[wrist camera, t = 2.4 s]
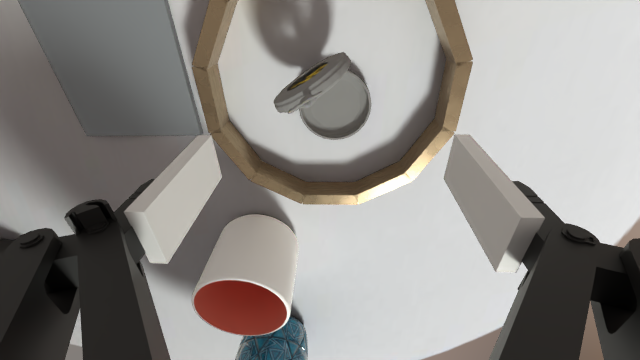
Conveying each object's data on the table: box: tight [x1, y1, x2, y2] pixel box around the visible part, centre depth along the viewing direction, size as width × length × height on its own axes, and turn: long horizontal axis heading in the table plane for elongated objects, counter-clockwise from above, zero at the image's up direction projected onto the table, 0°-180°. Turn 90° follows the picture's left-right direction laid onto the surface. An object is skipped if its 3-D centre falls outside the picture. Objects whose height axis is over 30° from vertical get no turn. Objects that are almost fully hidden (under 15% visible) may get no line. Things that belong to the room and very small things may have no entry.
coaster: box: [18, 0, 203, 136], centre depth 26 cm, size 12×12×1 cm
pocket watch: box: [274, 52, 371, 140], centre depth 23 cm, size 8×8×10 cm
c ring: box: [192, 0, 473, 205], centre depth 26 cm, size 22×22×2 cm
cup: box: [192, 214, 299, 336], centre depth 33 cm, size 10×10×10 cm
